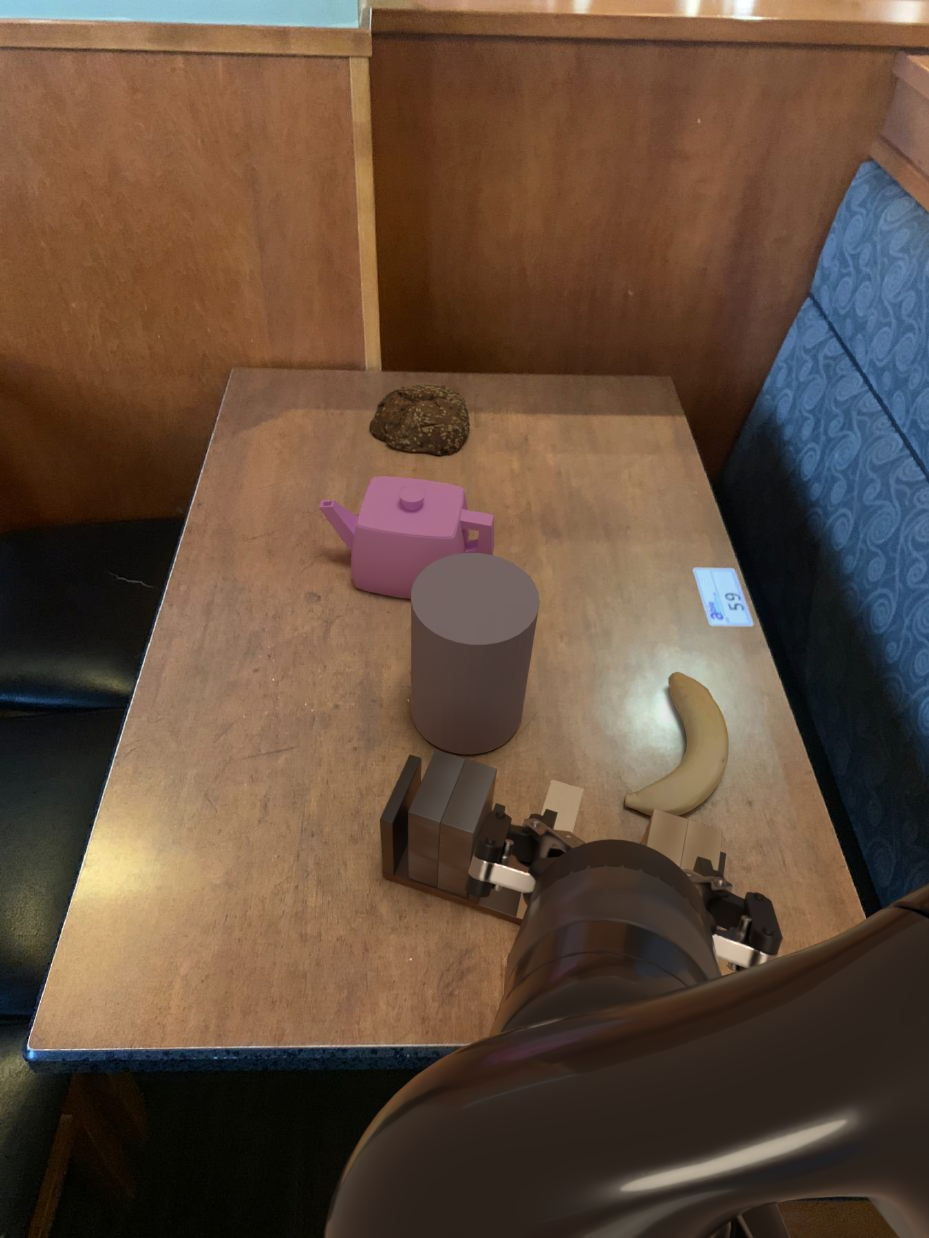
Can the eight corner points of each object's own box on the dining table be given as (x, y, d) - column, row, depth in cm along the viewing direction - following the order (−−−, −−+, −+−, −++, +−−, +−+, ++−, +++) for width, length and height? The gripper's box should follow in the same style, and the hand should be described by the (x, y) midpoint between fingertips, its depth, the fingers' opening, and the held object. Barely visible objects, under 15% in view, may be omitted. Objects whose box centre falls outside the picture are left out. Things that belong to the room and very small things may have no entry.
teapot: (313, 590, 88) (305, 514, 81) (337, 525, 95) (331, 450, 88) (485, 612, 87) (492, 537, 80) (496, 545, 94) (503, 470, 87)
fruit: (740, 710, 80) (750, 688, 78) (703, 840, 70) (713, 820, 68) (666, 684, 82) (673, 662, 79) (620, 807, 72) (627, 786, 70)
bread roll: (471, 403, 114) (473, 370, 110) (467, 459, 105) (470, 424, 101) (376, 397, 113) (375, 364, 110) (364, 452, 105) (363, 418, 101)
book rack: (695, 907, 66) (738, 831, 58) (684, 981, 62) (728, 911, 54) (409, 814, 71) (409, 730, 62) (382, 877, 67) (378, 797, 58)
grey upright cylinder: (404, 751, 75) (403, 638, 64) (417, 662, 82) (418, 548, 71) (520, 761, 75) (539, 650, 64) (523, 671, 82) (540, 558, 71)
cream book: (563, 862, 67) (584, 788, 59) (546, 927, 64) (566, 858, 56) (534, 853, 68) (551, 778, 60) (516, 917, 64) (531, 846, 56)
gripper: (841, 937, 30) (769, 825, 45) (456, 814, 32) (515, 748, 48) (783, 1137, 30) (732, 956, 46) (407, 999, 33) (482, 873, 49)
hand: (621, 850), depth 47 cm, fingers open, 8 cm apart
